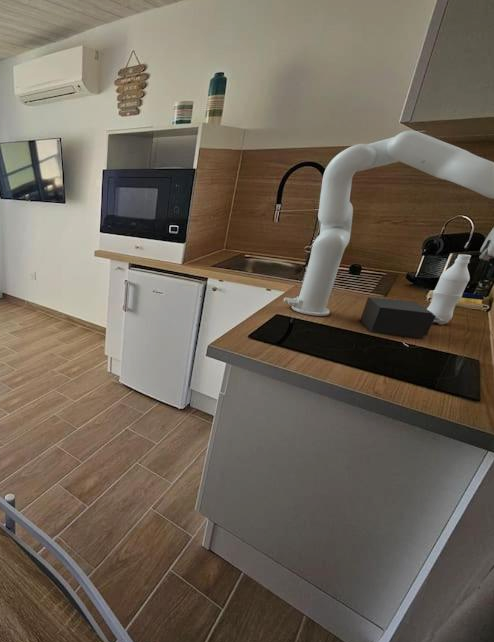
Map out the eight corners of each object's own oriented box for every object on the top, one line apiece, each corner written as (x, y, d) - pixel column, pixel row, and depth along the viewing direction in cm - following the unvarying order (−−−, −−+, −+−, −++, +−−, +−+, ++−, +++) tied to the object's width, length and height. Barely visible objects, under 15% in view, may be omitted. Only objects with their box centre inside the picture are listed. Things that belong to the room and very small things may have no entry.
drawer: (427, 326, 131) (436, 307, 128) (443, 338, 122) (453, 317, 119) (368, 319, 137) (375, 300, 134) (379, 329, 128) (387, 310, 125)
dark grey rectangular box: (406, 325, 134) (416, 302, 130) (421, 338, 124) (433, 313, 120) (359, 320, 139) (368, 297, 135) (371, 331, 129) (380, 307, 125)
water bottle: (436, 318, 140) (466, 253, 130) (454, 326, 133) (486, 257, 124) (416, 318, 141) (444, 252, 131) (432, 325, 134) (463, 257, 124)
